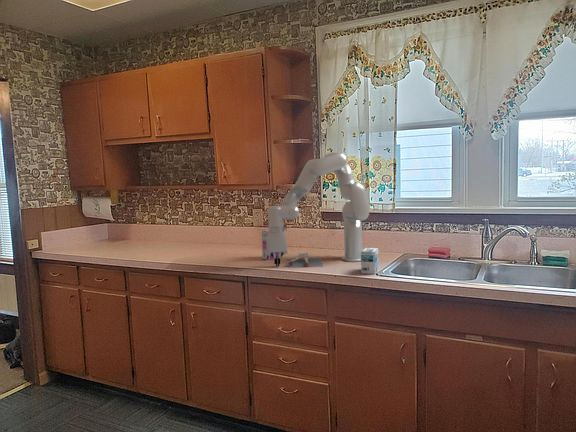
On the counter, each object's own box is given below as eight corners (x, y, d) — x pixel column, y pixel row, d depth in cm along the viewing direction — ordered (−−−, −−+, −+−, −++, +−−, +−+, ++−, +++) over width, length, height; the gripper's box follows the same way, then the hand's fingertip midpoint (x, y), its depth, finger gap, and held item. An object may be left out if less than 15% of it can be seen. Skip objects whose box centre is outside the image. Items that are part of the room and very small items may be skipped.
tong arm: (299, 260, 245) (299, 256, 245) (301, 260, 244) (301, 256, 244) (286, 266, 231) (286, 262, 231) (289, 266, 231) (288, 262, 230)
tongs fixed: (301, 259, 248) (301, 255, 247) (306, 259, 248) (306, 255, 248) (303, 267, 229) (303, 263, 228) (308, 267, 229) (308, 263, 228)
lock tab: (298, 257, 252) (298, 252, 252) (307, 257, 253) (307, 251, 252) (299, 259, 247) (299, 253, 247) (308, 259, 248) (307, 253, 247)
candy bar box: (268, 260, 250) (266, 231, 249) (262, 259, 254) (261, 230, 252) (283, 257, 258) (282, 229, 256) (277, 256, 262) (276, 228, 260)
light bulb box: (375, 274, 211) (374, 251, 210) (360, 273, 214) (360, 251, 213) (379, 269, 221) (379, 247, 220) (365, 268, 224) (365, 247, 223)
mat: (319, 258, 252) (319, 257, 252) (323, 267, 229) (323, 266, 229) (287, 259, 251) (287, 258, 251) (288, 269, 228) (288, 267, 228)
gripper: (290, 228, 234) (291, 263, 236) (261, 229, 233) (263, 264, 235) (291, 230, 226) (292, 266, 228) (261, 231, 226) (262, 267, 228)
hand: (277, 265), depth 232 cm, fingers closed
